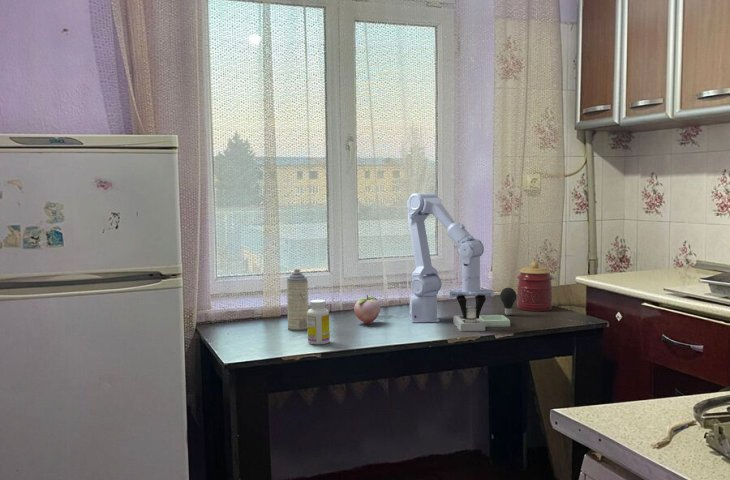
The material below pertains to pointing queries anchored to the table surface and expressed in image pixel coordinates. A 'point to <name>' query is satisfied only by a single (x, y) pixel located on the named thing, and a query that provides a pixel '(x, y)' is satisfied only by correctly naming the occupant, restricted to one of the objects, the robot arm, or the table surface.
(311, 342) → the supplement bottle
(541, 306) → the canister
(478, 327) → the gray rectangular frame
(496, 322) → the parts tray
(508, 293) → the light bulb
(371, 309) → the decorative fruit
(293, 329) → the aerosol can
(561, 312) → the table surface
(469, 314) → the fuse
